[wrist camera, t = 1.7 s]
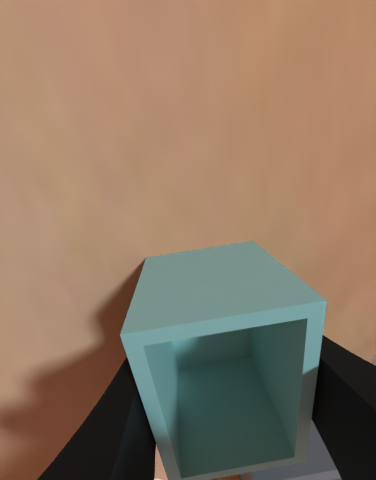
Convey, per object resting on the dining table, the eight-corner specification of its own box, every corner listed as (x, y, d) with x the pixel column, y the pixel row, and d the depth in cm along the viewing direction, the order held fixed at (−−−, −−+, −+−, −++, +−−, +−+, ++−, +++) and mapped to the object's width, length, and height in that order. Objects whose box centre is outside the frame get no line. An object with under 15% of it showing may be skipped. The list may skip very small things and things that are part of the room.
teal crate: (252, 240, 10) (326, 300, 5) (255, 352, 12) (305, 462, 8) (146, 257, 10) (119, 334, 5) (171, 367, 12) (170, 486, 7)
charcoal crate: (442, 361, 14) (542, 430, 10) (393, 473, 19) (448, 546, 15) (232, 398, 13) (255, 485, 10) (242, 502, 19) (259, 584, 15)
